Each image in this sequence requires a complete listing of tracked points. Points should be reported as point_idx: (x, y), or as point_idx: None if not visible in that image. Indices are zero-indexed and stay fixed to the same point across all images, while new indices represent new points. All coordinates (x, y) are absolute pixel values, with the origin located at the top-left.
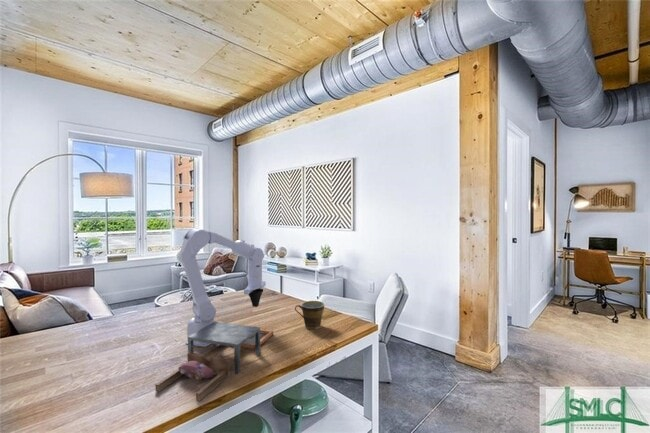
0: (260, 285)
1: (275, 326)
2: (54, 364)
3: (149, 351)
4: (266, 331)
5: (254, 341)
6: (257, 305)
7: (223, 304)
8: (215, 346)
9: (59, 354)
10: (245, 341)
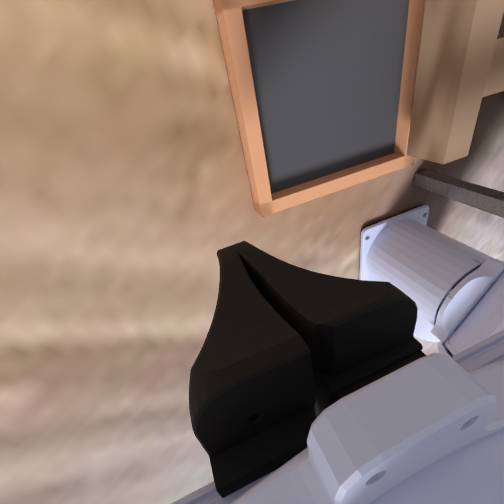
0: (461, 479)
1: (87, 89)
2: None
3: None
4: (245, 44)
5: (351, 43)
6: (242, 245)
7: (100, 496)
8: (429, 173)
9: None
10: (362, 96)
